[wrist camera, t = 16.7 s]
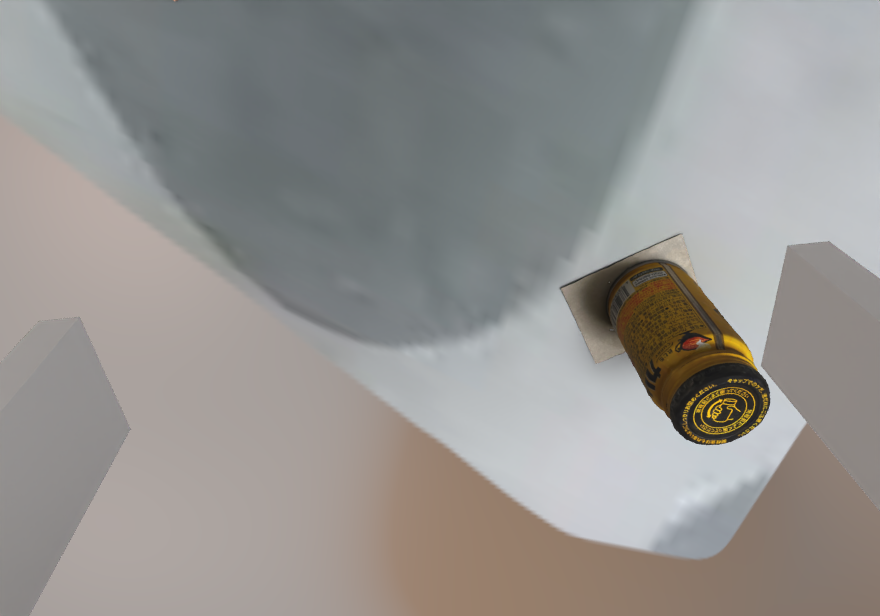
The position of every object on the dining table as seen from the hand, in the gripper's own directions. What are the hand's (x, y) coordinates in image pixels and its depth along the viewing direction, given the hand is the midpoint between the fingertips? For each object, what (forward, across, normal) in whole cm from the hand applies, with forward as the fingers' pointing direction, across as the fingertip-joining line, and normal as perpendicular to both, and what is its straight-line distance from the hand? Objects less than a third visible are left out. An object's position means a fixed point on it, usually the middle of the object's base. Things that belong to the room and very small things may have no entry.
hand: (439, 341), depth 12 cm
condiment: (+27, +14, -16) cm, 34 cm away
